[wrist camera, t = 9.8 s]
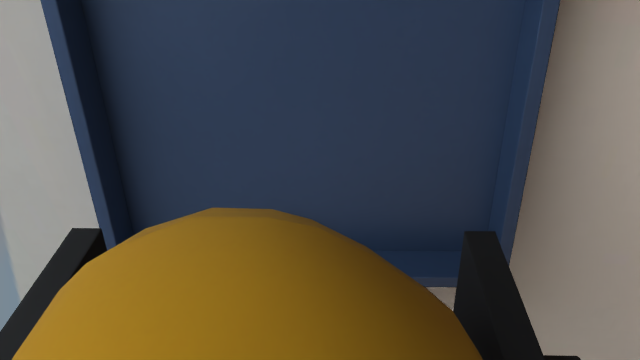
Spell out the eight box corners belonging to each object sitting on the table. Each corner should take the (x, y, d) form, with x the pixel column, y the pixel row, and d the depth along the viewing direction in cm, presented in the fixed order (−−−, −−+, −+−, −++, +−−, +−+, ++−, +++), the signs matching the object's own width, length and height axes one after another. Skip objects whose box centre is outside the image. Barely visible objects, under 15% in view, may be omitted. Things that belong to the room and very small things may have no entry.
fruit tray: (130, 250, 29) (113, 284, 27) (49, -104, 21) (14, -97, 19) (492, 253, 29) (505, 288, 26) (554, -112, 20) (581, -106, 18)
